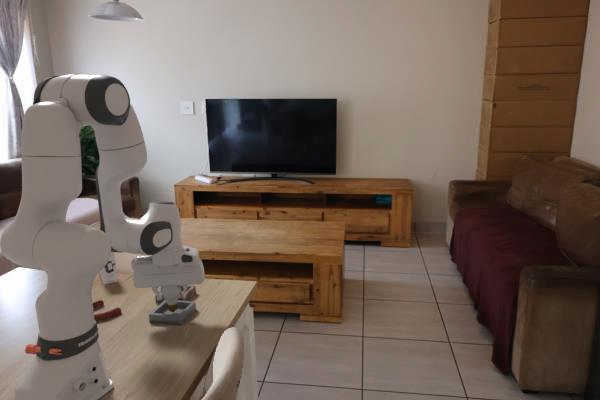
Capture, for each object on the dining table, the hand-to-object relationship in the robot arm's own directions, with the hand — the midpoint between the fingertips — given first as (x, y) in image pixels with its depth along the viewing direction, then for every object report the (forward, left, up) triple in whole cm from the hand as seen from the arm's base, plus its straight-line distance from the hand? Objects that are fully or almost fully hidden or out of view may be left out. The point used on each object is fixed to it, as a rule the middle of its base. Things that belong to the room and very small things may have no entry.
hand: (171, 298), depth 136 cm
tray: (0, 0, -6) cm, 6 cm away
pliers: (-7, +26, -6) cm, 28 cm away
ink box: (+21, +37, -6) cm, 43 cm away
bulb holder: (+12, +5, -6) cm, 14 cm away
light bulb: (0, 0, -4) cm, 4 cm away
